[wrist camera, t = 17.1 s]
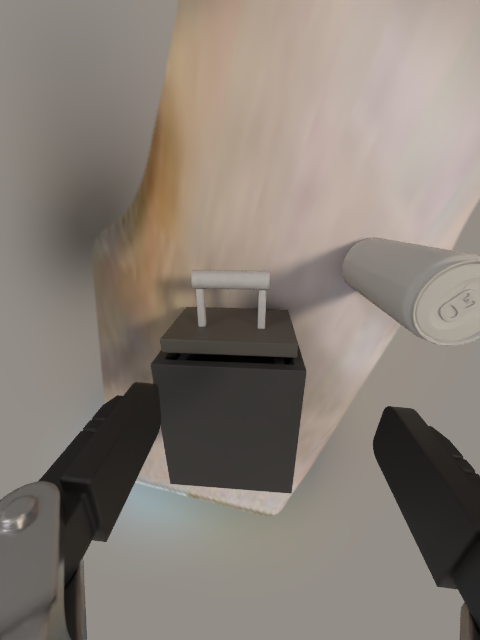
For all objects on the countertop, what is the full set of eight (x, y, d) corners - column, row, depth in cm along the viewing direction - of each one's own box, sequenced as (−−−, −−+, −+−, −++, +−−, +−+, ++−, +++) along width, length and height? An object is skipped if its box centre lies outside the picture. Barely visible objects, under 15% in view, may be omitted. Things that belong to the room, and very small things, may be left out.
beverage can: (403, 264, 23) (537, 307, 12) (359, 298, 24) (441, 364, 13) (373, 225, 22) (488, 233, 11) (329, 263, 23) (390, 304, 12)
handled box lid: (182, 260, 24) (150, 277, 17) (291, 261, 23) (304, 280, 16) (195, 402, 30) (176, 455, 23) (280, 407, 29) (286, 463, 23)
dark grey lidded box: (184, 318, 27) (150, 364, 18) (291, 321, 26) (306, 371, 18) (193, 414, 32) (170, 483, 24) (283, 419, 31) (291, 493, 23)
